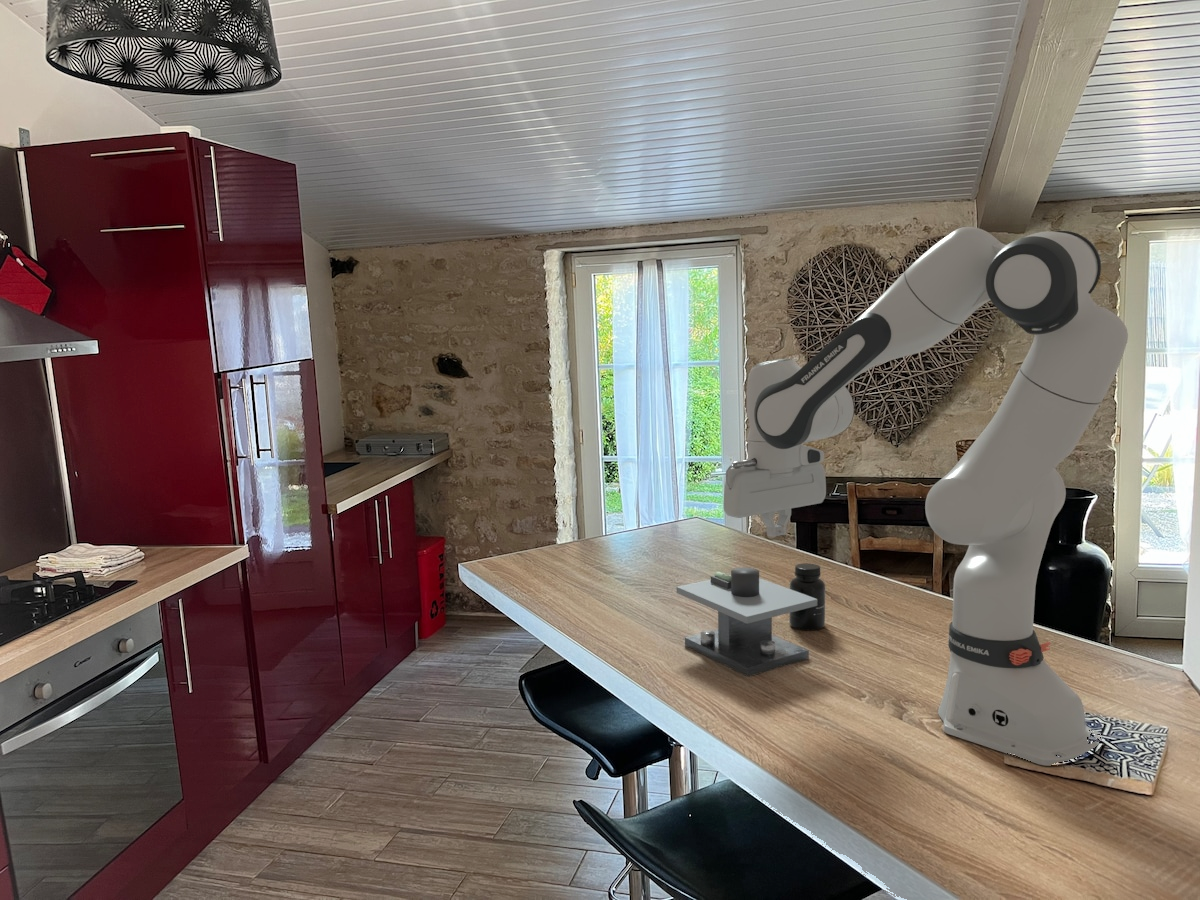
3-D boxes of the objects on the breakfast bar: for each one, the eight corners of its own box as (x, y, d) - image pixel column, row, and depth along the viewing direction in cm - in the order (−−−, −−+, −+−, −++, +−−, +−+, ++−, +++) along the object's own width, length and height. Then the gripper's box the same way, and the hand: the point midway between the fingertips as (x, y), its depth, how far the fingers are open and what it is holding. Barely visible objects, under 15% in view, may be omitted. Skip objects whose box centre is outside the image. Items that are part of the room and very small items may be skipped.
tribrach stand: (808, 658, 165) (809, 610, 164) (747, 676, 158) (747, 625, 157) (743, 630, 181) (742, 585, 179) (684, 645, 174) (684, 599, 172)
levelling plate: (817, 608, 164) (817, 577, 163) (746, 627, 156) (747, 593, 155) (743, 581, 181) (743, 552, 180) (676, 596, 172) (676, 565, 172)
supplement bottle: (825, 632, 179) (826, 571, 177) (789, 630, 180) (789, 570, 178) (824, 620, 185) (824, 561, 183) (789, 619, 187) (789, 561, 185)
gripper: (738, 464, 149) (741, 548, 151) (831, 451, 160) (832, 529, 161) (714, 461, 155) (716, 542, 156) (805, 448, 165) (807, 524, 167)
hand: (776, 535), depth 159 cm, fingers closed
